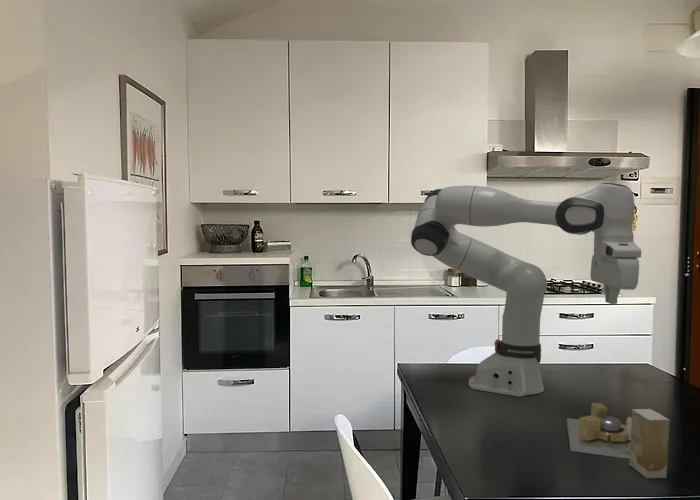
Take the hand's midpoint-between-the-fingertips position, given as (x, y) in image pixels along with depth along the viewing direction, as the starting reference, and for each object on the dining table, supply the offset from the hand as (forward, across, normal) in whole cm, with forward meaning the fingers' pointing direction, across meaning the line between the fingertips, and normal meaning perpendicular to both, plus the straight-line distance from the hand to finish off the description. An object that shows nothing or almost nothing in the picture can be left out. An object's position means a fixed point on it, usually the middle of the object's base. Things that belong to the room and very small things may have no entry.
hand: (611, 303), depth 136 cm
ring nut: (+29, +10, -4) cm, 31 cm away
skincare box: (+31, +26, -2) cm, 41 cm away
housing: (+31, +11, -4) cm, 33 cm away
